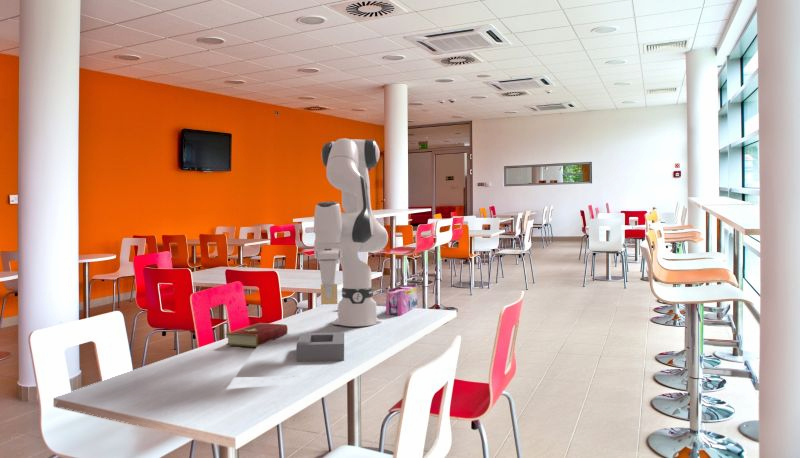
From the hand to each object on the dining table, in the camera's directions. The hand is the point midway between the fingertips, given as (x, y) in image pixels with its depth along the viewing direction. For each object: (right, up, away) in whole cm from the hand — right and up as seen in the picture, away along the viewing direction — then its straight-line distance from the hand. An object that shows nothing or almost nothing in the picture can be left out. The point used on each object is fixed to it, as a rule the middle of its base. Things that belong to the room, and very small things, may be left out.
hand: (329, 296), depth 184 cm
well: (-2, -18, -1) cm, 18 cm away
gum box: (+23, -17, +68) cm, 74 cm away
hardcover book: (-28, -18, +24) cm, 41 cm away
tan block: (0, -2, 0) cm, 2 cm away
